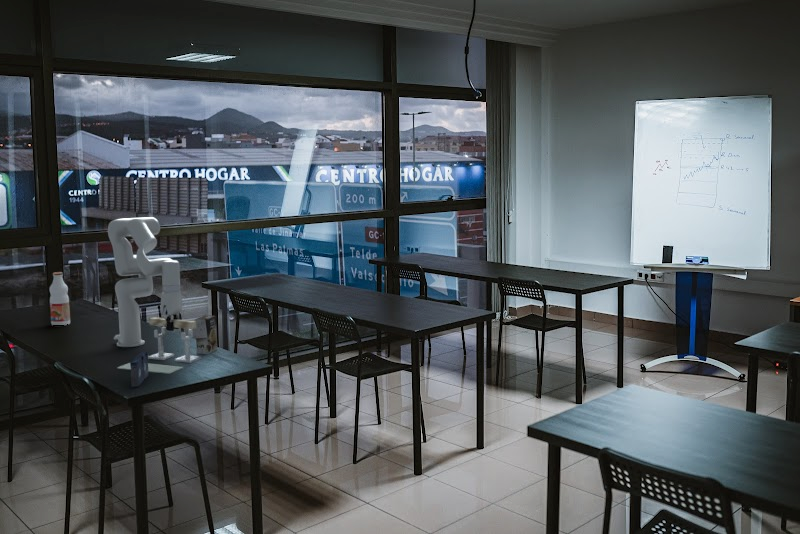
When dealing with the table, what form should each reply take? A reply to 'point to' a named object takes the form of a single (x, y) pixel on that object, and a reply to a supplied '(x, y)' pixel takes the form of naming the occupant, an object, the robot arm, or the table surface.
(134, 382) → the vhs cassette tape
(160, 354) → the standard left
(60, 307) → the fruit juice
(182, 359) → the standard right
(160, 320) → the birch rail
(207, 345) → the coffee box
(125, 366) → the sage mat
